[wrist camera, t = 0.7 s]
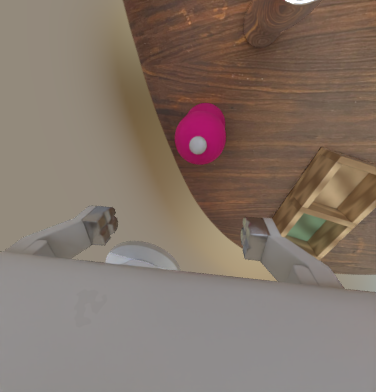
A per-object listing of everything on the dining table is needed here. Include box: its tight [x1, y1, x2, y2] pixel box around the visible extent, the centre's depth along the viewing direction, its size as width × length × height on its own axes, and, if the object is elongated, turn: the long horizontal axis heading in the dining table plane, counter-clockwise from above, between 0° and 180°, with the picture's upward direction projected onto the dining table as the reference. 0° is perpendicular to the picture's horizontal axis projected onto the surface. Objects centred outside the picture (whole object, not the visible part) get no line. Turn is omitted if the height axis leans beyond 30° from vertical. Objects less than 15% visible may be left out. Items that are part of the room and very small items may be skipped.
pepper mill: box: [175, 103, 226, 165], centre depth 25 cm, size 7×7×20 cm
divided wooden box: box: [272, 147, 376, 260], centre depth 36 cm, size 23×12×6 cm, turn 164°
